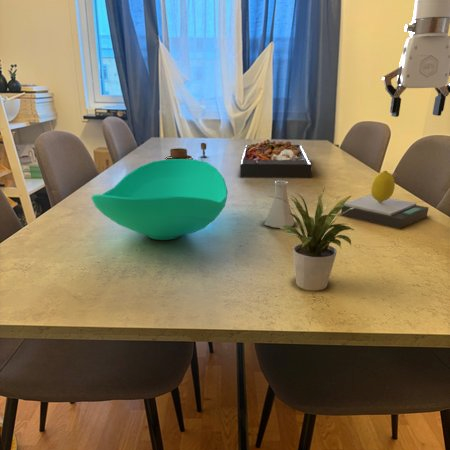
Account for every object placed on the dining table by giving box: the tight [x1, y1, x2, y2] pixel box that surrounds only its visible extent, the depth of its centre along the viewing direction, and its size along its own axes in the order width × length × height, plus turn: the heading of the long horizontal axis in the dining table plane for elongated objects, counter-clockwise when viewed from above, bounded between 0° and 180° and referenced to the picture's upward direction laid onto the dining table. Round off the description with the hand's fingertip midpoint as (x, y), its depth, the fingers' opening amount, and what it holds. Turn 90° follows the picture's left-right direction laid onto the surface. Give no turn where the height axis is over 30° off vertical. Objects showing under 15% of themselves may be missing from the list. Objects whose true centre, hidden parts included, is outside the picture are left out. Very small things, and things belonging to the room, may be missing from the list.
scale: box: [340, 193, 429, 230], centre depth 108 cm, size 16×14×3 cm
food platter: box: [239, 139, 313, 179], centre depth 169 cm, size 45×25×10 cm, turn 175°
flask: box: [263, 180, 295, 229], centre depth 101 cm, size 7×7×10 cm
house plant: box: [269, 187, 357, 292], centre depth 70 cm, size 14×14×16 cm
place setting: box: [164, 142, 208, 160], centre depth 181 cm, size 18×20×6 cm
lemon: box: [370, 170, 396, 203], centre depth 107 cm, size 6×6×8 cm
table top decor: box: [91, 159, 229, 241], centre depth 94 cm, size 40×28×13 cm
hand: (415, 115), depth 101 cm, fingers open, 9 cm apart
